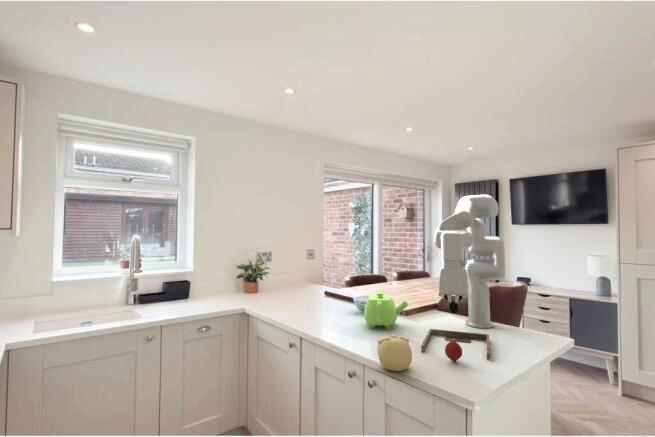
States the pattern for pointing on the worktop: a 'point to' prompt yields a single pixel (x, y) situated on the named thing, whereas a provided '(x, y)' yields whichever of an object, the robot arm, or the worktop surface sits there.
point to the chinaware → (361, 302)
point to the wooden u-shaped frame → (456, 338)
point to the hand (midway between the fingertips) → (453, 312)
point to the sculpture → (394, 353)
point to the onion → (453, 350)
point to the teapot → (382, 310)
